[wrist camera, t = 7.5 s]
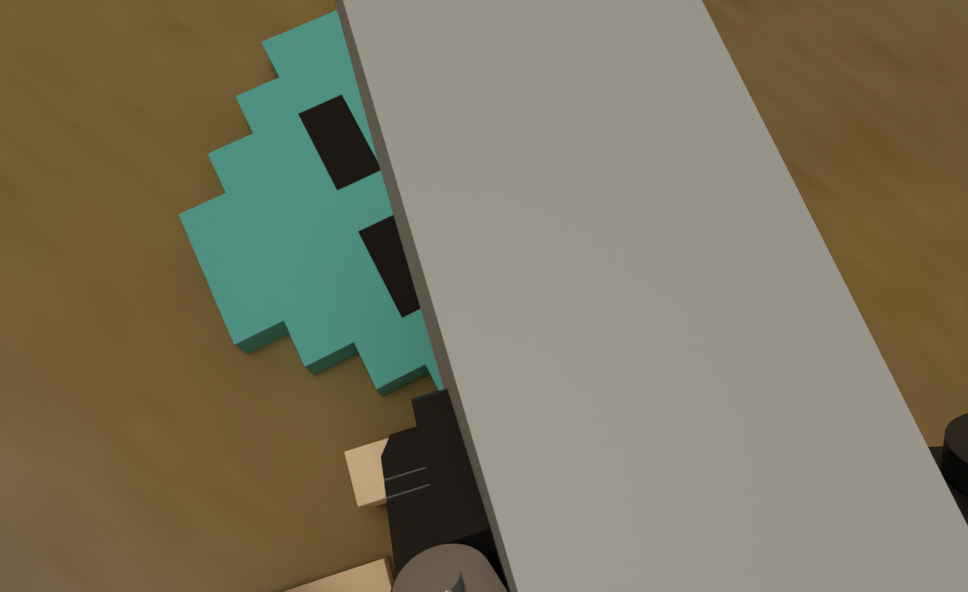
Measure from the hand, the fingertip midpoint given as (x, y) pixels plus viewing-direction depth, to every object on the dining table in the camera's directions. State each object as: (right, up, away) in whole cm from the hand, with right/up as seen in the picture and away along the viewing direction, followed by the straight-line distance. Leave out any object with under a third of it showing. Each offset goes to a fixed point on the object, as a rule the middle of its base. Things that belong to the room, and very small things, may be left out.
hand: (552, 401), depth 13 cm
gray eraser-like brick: (-1, 0, +5) cm, 5 cm away
